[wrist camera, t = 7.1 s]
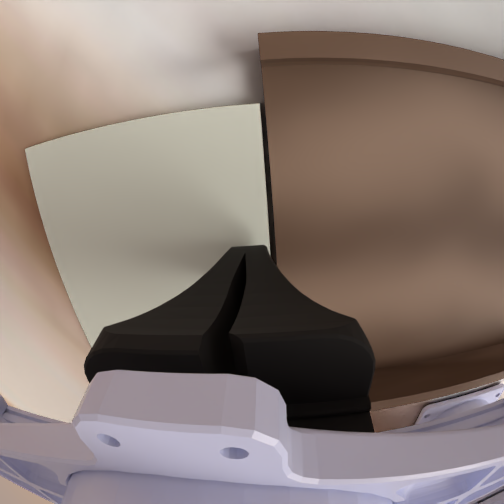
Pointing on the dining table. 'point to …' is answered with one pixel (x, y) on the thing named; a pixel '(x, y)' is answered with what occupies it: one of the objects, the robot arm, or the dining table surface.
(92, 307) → the cover plate
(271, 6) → the dining table surface
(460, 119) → the case
